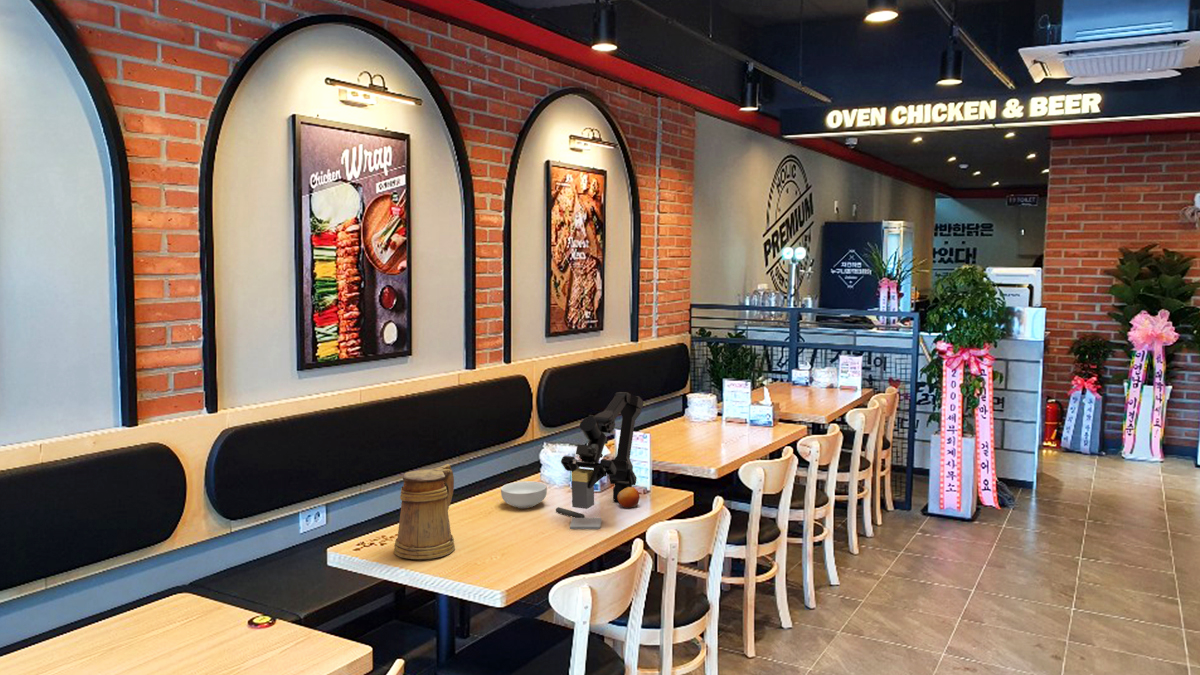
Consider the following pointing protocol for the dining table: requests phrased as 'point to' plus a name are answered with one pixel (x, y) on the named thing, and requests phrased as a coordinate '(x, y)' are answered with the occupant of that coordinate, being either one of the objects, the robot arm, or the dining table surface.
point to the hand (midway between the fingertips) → (581, 487)
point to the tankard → (425, 514)
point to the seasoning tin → (582, 489)
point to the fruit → (628, 497)
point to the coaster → (585, 523)
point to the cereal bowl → (524, 493)
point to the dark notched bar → (569, 513)
